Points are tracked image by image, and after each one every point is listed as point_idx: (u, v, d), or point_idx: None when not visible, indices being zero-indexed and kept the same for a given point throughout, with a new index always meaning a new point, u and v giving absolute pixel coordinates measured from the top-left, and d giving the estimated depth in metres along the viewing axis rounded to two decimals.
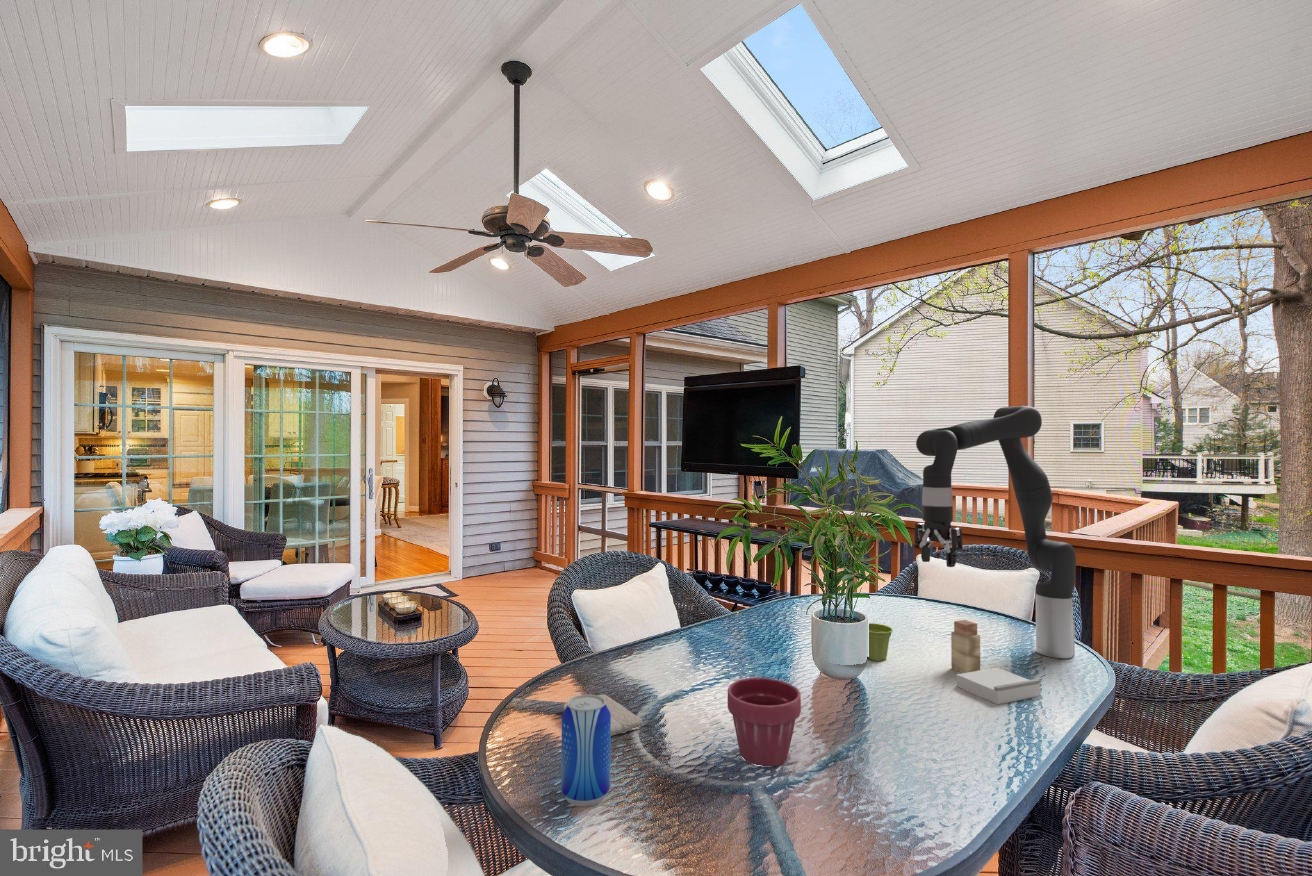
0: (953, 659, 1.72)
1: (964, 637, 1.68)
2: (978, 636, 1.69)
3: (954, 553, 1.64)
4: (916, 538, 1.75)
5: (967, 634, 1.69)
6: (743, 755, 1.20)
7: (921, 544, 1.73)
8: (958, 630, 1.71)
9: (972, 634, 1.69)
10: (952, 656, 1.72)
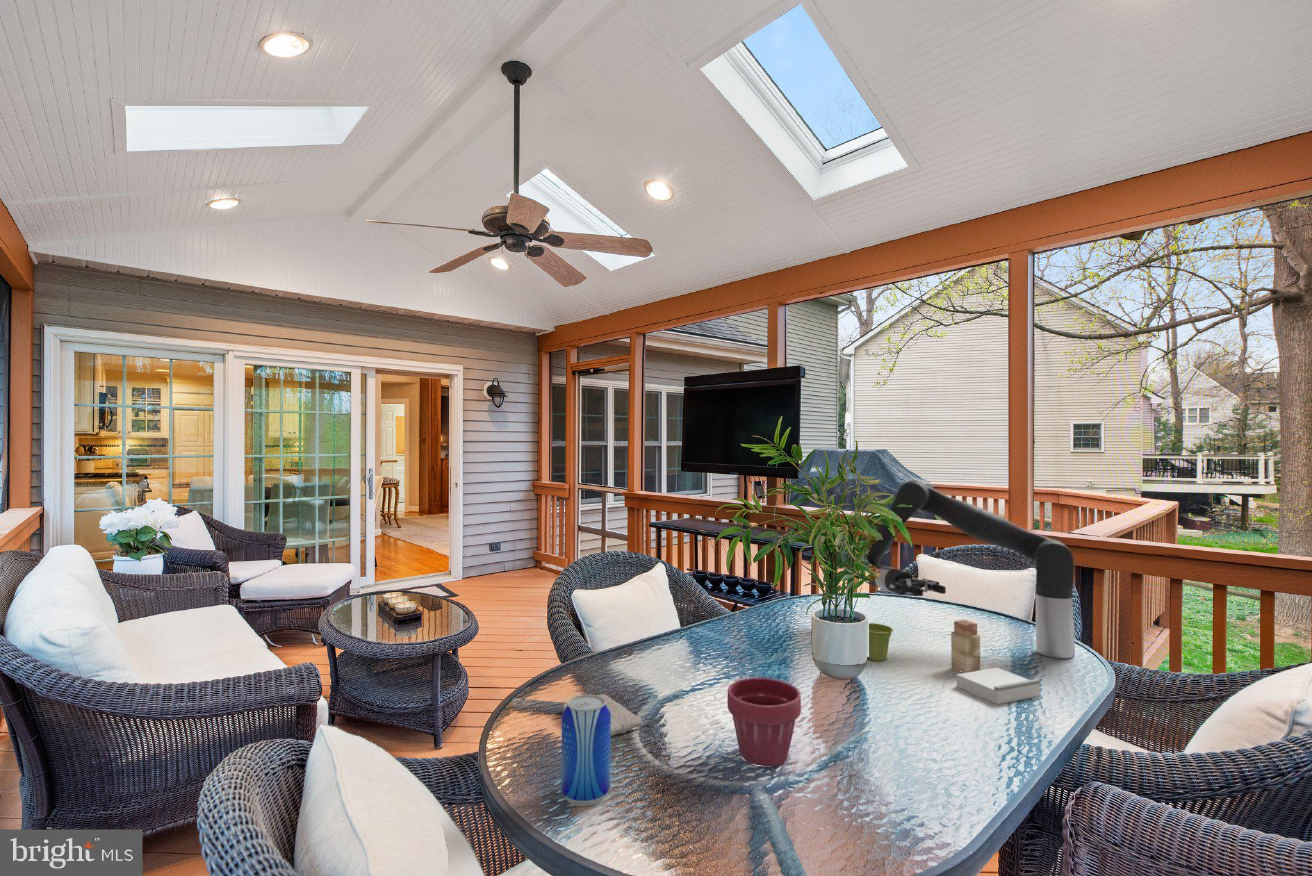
0: (953, 659, 1.72)
1: (964, 637, 1.68)
2: (978, 636, 1.69)
3: (909, 589, 1.83)
4: None
5: (967, 634, 1.69)
6: (743, 755, 1.20)
7: None
8: (958, 630, 1.71)
9: (972, 634, 1.69)
10: (952, 656, 1.72)
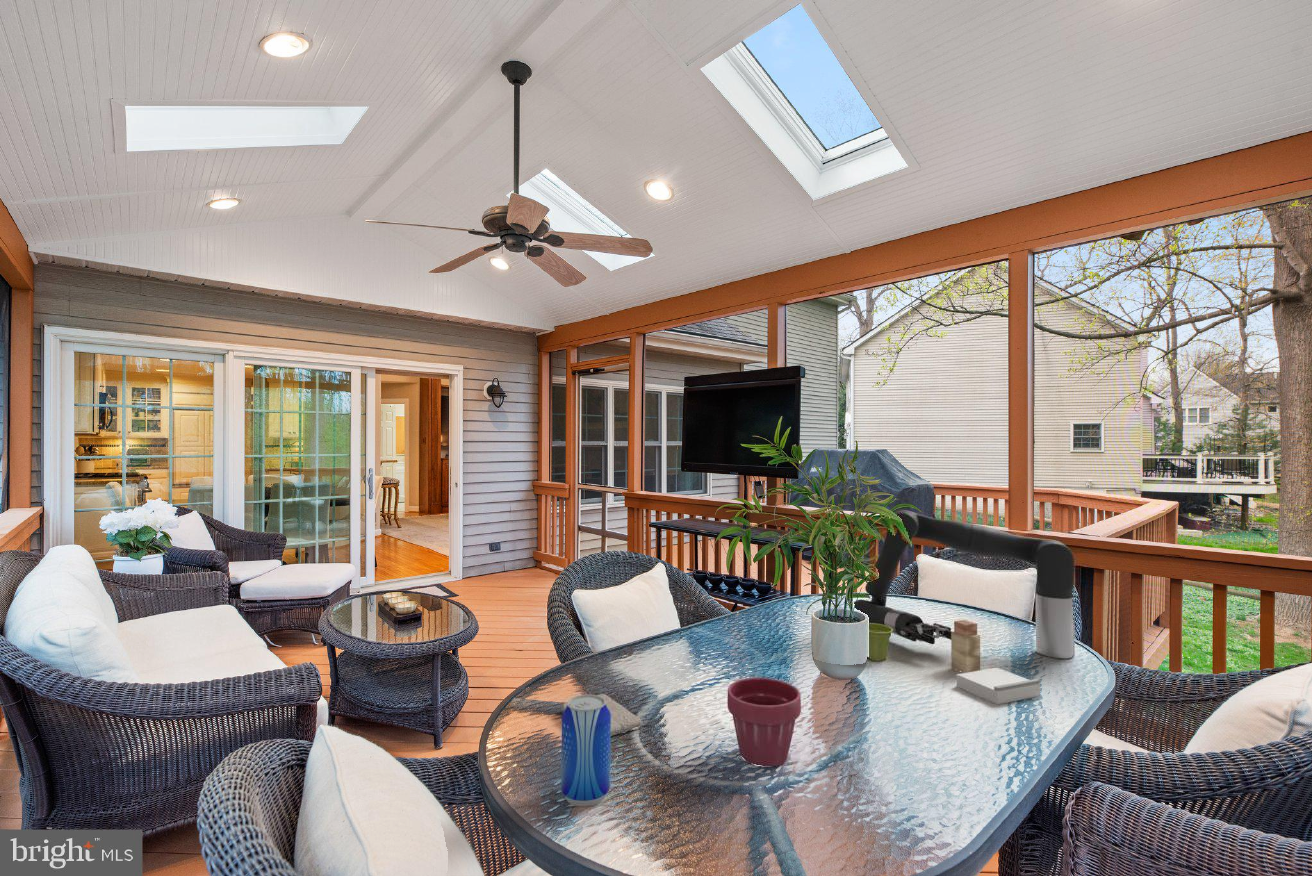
0: (953, 659, 1.72)
1: (964, 637, 1.68)
2: (978, 636, 1.69)
3: (920, 636, 1.79)
4: None
5: (967, 634, 1.69)
6: (743, 755, 1.20)
7: None
8: (958, 630, 1.71)
9: (972, 634, 1.69)
10: (952, 656, 1.72)
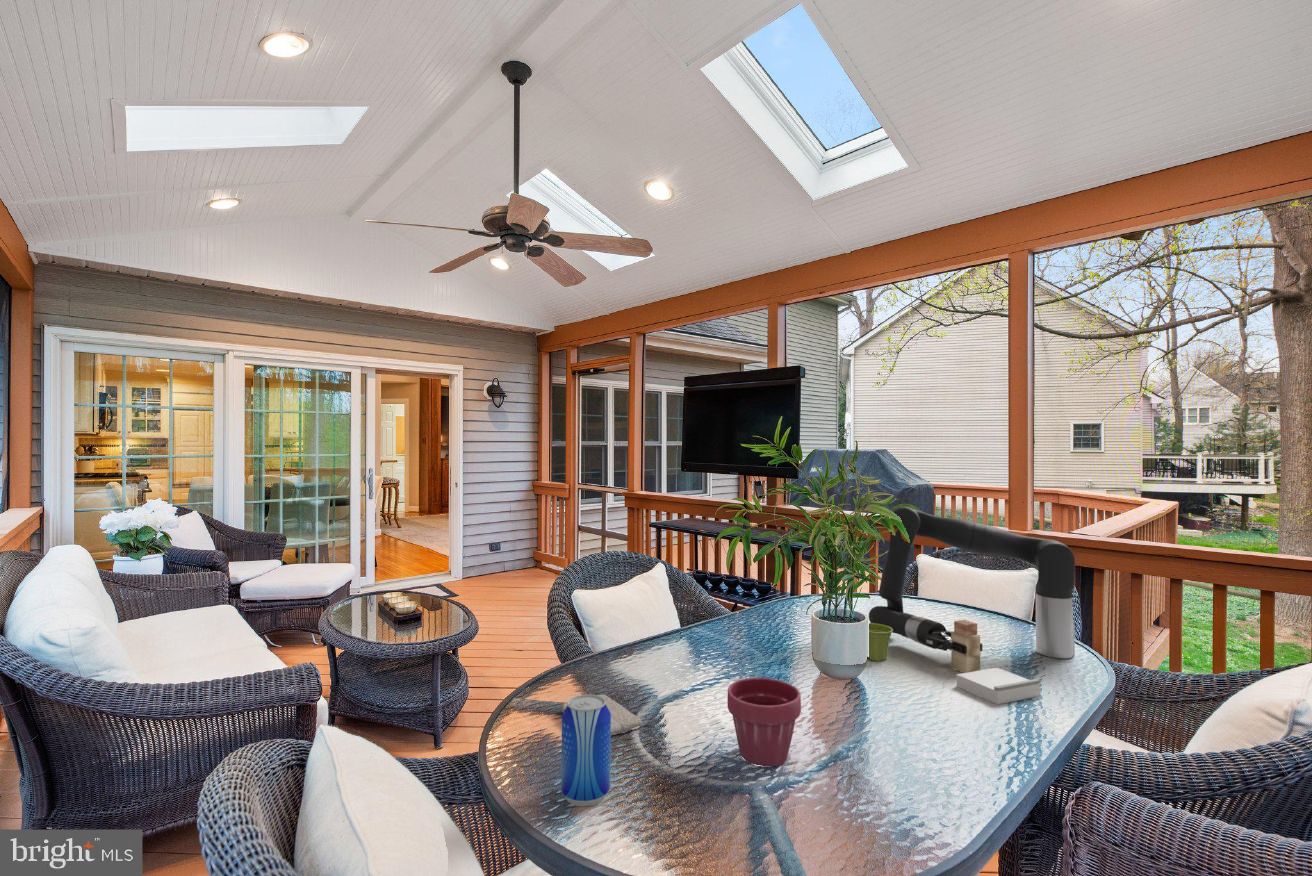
0: (953, 659, 1.72)
1: (964, 637, 1.68)
2: (978, 636, 1.69)
3: (953, 646, 1.70)
4: None
5: (967, 634, 1.69)
6: (743, 755, 1.20)
7: None
8: (958, 630, 1.71)
9: (972, 634, 1.69)
10: (952, 656, 1.72)
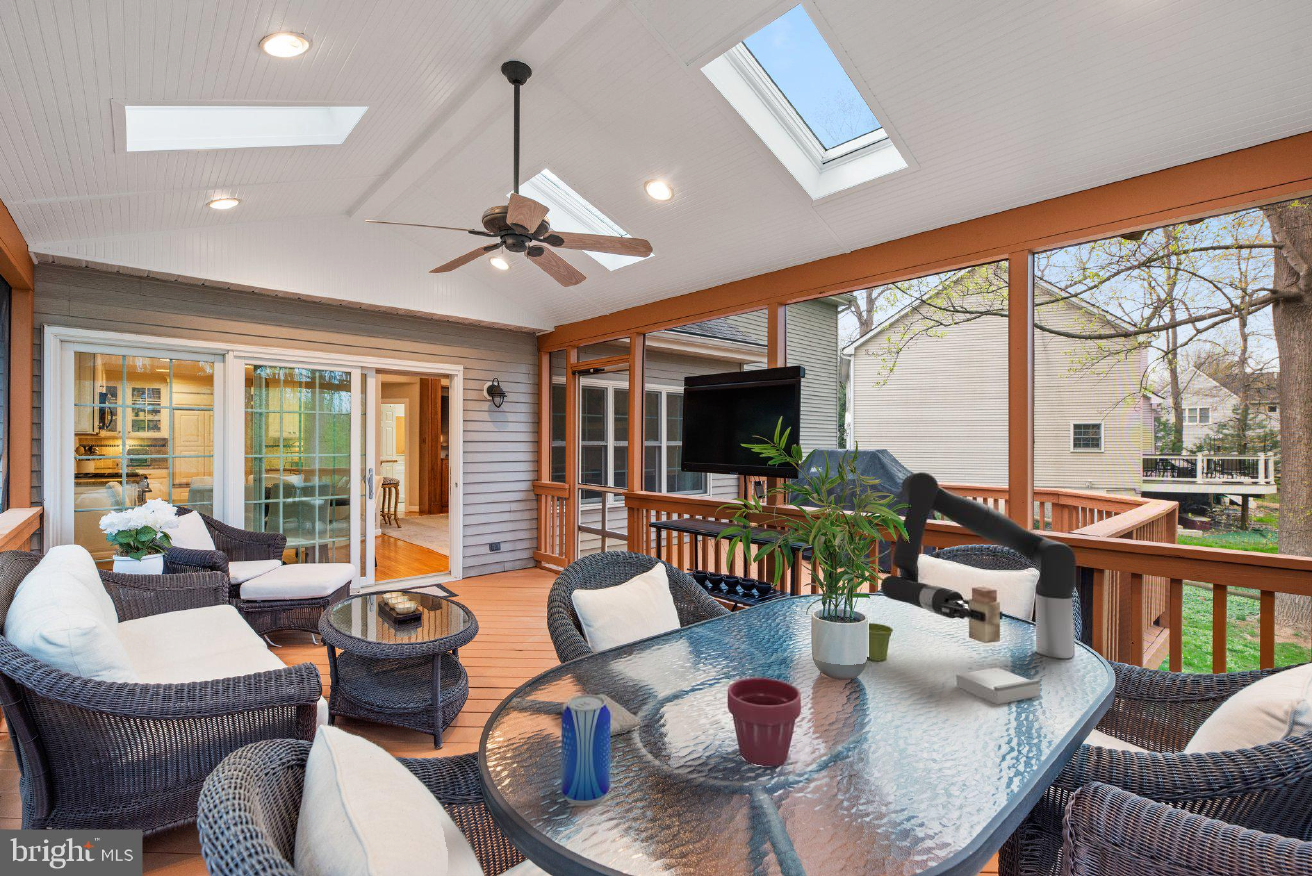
0: (971, 628, 1.62)
1: (983, 604, 1.59)
2: (998, 603, 1.60)
3: (970, 613, 1.61)
4: None
5: (986, 601, 1.59)
6: (743, 755, 1.20)
7: None
8: (976, 597, 1.61)
9: (991, 601, 1.59)
10: (970, 624, 1.62)
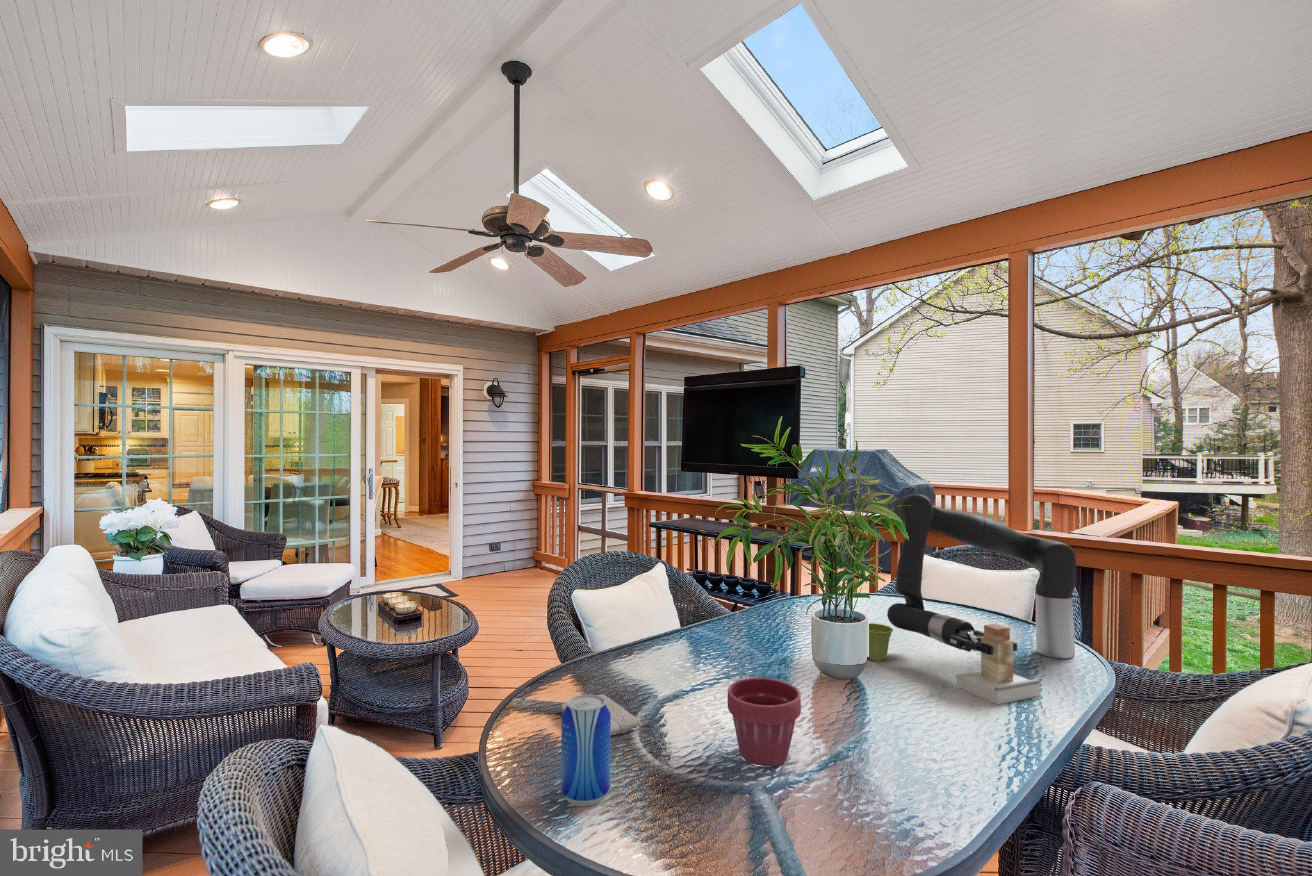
0: (983, 667, 1.57)
1: (996, 643, 1.54)
2: (1011, 642, 1.55)
3: (976, 646, 1.56)
4: None
5: (999, 639, 1.54)
6: (743, 755, 1.20)
7: None
8: (989, 635, 1.56)
9: (1004, 639, 1.55)
10: (982, 663, 1.57)
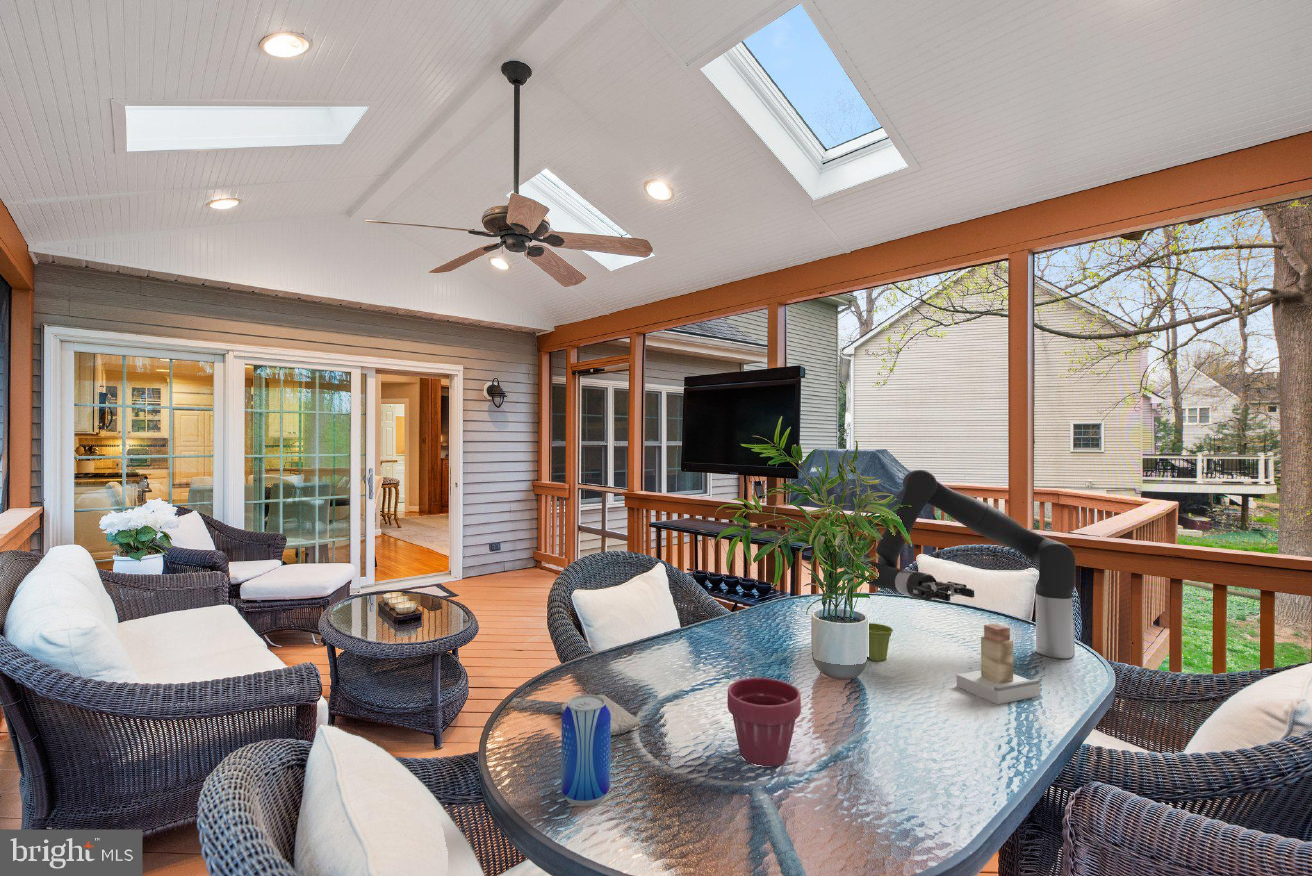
0: (983, 667, 1.57)
1: (996, 643, 1.54)
2: (1011, 642, 1.55)
3: (935, 594, 1.68)
4: None
5: (999, 639, 1.54)
6: (743, 755, 1.20)
7: None
8: (989, 635, 1.56)
9: (1004, 639, 1.55)
10: (982, 663, 1.57)
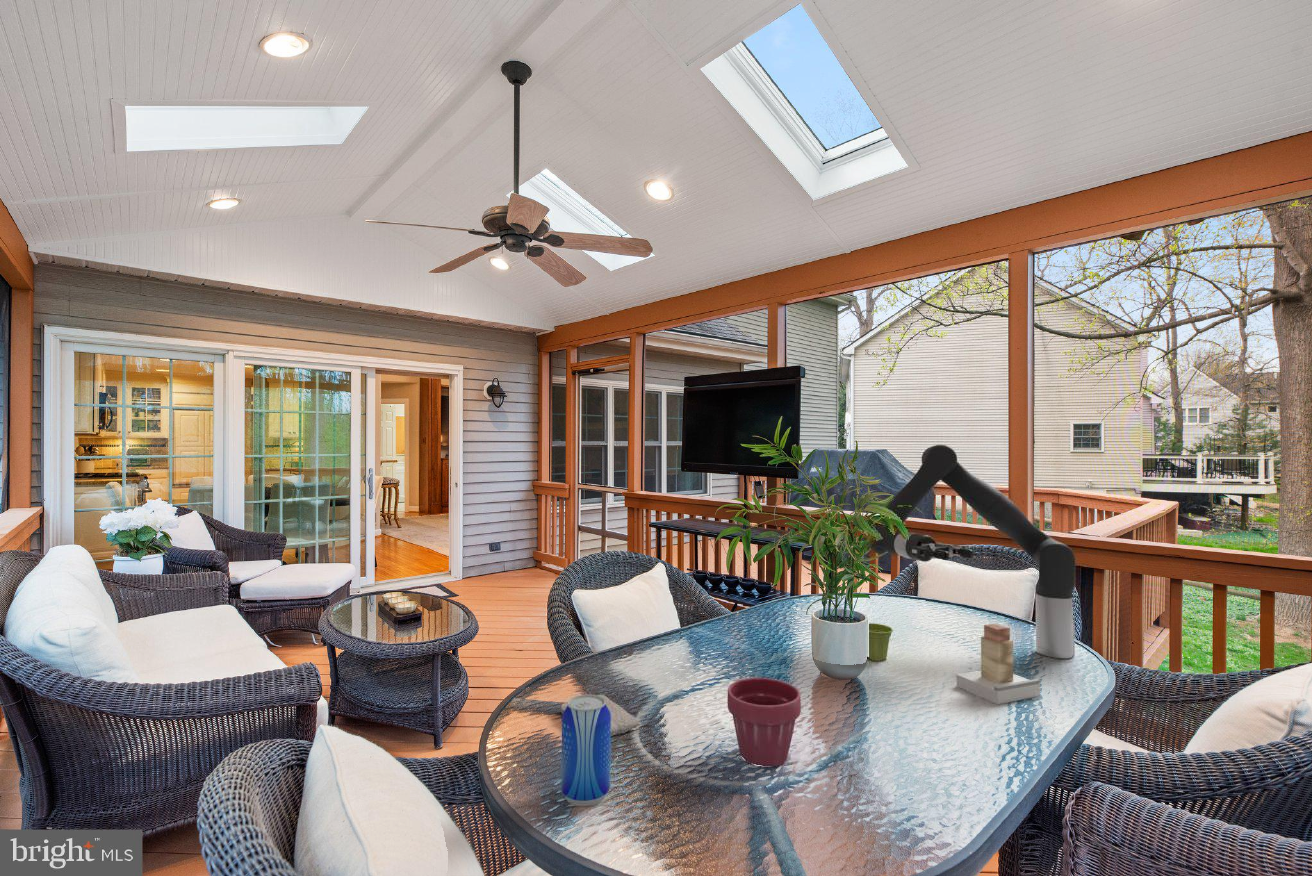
0: (983, 667, 1.57)
1: (996, 643, 1.54)
2: (1011, 642, 1.55)
3: (933, 553, 1.68)
4: None
5: (999, 639, 1.54)
6: (743, 755, 1.20)
7: None
8: (989, 635, 1.56)
9: (1004, 639, 1.55)
10: (982, 663, 1.57)
